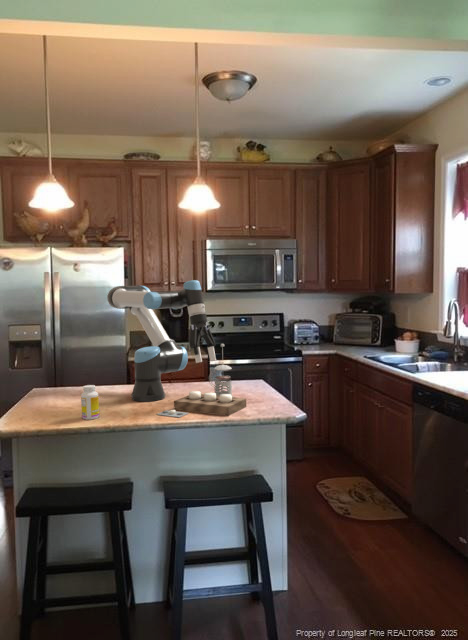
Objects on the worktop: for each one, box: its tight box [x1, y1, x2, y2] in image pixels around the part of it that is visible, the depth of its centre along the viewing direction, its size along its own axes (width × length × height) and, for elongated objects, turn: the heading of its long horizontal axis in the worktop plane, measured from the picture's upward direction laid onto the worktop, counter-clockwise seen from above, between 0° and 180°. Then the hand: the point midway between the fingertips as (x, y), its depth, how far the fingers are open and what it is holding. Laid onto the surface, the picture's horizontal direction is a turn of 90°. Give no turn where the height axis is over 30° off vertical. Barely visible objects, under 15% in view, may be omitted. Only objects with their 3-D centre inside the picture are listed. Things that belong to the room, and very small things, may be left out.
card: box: [156, 409, 190, 418], centre depth 207 cm, size 11×7×2 cm, turn 63°
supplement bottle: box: [80, 384, 100, 421], centre depth 203 cm, size 7×7×13 cm
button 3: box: [220, 394, 233, 404], centre depth 213 cm, size 5×5×3 cm
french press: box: [208, 343, 234, 397], centre depth 235 cm, size 10×12×25 cm
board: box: [173, 393, 247, 417], centre depth 216 cm, size 26×16×4 cm, turn 63°
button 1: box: [188, 390, 202, 400], centre depth 220 cm, size 5×5×3 cm
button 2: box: [203, 392, 216, 402], centre depth 216 cm, size 5×5×3 cm
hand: (206, 361), depth 226 cm, fingers open, 13 cm apart
